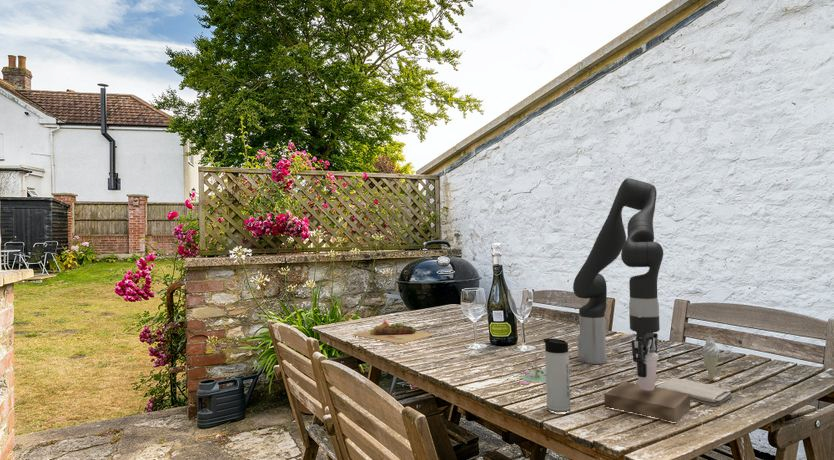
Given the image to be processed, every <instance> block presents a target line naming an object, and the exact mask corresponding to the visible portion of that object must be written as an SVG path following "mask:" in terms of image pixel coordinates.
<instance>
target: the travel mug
mask: <svg viewBox="0 0 834 460" xmlns="http://www.w3.org/2000/svg"><path fill="white" fill-rule="evenodd" d="M543 342H544V343H545V344H544V346H545V348H544V352H545V355H544V356H545V357H544V358H545V359H544V360H545V370H546V409H549V410H551V411H554V412H567V411H570V410H571V388H570V387H571V386H570V356H569V351H570V350H569V343H568V342H567V341H566V340H563V339H560V338H559V339H558V338H543ZM570 412H571V411H570Z"/></svg>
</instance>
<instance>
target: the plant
mask: <svg viewBox="0 0 834 460" xmlns="http://www.w3.org/2000/svg"><path fill="white" fill-rule="evenodd" d="M534 357H535V358H534V359H532V360H533V365H532V364H531V363H530V362H528V364H526V366H527V367H531V369H532V370H529V369H525V370H524V371H522V372H523V374H525V375H524V377H523V379H522V380H529V381H534V382H541V383H542V382H543V383H546V369H543V368H542V367H538V366H539V365H540V363H538V362H537V361H540V359H539V356H537V354H536V353H535V354H534ZM538 368H539V369H538ZM520 384H522V385H529V382H527V381H523V382H520Z"/></svg>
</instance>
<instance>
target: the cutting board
mask: <svg viewBox="0 0 834 460" xmlns="http://www.w3.org/2000/svg"><path fill="white" fill-rule="evenodd" d="M353 335H354V336H358V337H364V338H369V339H375V340H380V341H386V342H392V343H397V344H405V343H408V342H411V341H415V340H418V339H421V338H425V337H428V336H432V337H433V334H432V333H429V332H421V331H418V329H417V328H414V327H413V326H412V325H409V326H407V325H404V324H401V323H400V322H399V323H398V322H396V324H394V323H391V325H390V323H388V322H387V321H386V320H384V321H383V322H382V324H380V325H376V326H374V328H373V329H370V330H366V331H360V332H357V333H353V334H352V336H353ZM408 344H409V343H408ZM405 345H406V344H405Z"/></svg>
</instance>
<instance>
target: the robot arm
mask: <svg viewBox="0 0 834 460" xmlns="http://www.w3.org/2000/svg"><path fill="white" fill-rule="evenodd" d="M657 194H658V193H657V189H656V187H655V185H653V184H652V183H649V182H646V181H642V180H638V179H635V178H631V177H627V178H625V179H624V180H623V181H622V182H621V184H620V186H619V188H618V189H617V193H616V195H615V197H614V200H613V203H612V205H611V208H610V210H609V213H608V215H607V217H606V219H605V221H604V224H603V225H602V226H601V229H600V231H599V233H598V234H597V237H596V239H595V241H594V243H593V246H592V248H591V250H590V252H589V254H588V256H587V258H586V260H585V261H584V263H583V264H582V266H581V268H580V269H579V271H578V273H577V275H576V276H575V278H574V280H573V283H572V284H573V285H572V289H573V293H574V295H575V296H576V297H577V298H580V299H589V300H588V302H587V303H586V304H584V305H583V306H581V307H579V310H578V316H579V317H578V318H579V319H578V320H579V323H578V324H579V335H578V336H577V350H578V351H577V353H578V355H577V356H578V361H580V362H583V363H586V364H589V365H590V364H591V365H592V364H593V365H600V364H601V365H602V364H606V363H607V339H606V335H607V334H606V313H605V312H606V309H607V292H608V291H607V290H608V289H607V287H608V286H607V281H606V279H605V277H604V275H602V274H601V273H600V272H601V271H603V270H604V269H605V268H606V267H608V266H609V265H611V264H612V263H613V262H614V261H616V259H617V258H619V255H620V256H621V257H620V258H621V261H622V263H623V264H624V265H625V266H627V267H629V268H649V269H648V271H647V272H646V273H642V274H638V275H633V276H631V277H630V278H629V282H628V284H629V285H628V286H629V301H628V302H629V303H628V307H629V310H628V312H629V313H628V314H629V329H630V331H632V332H635V333H636V336H635V339H634V340H633V339H632V340H631V342H630V343H631V351H632V362H634V363H635V364H636V363H637V368H636V374H637V377H638V376H639V377H644V378H645V377H646V376H647V369H646V359H647V357H646V356H648V355H649V352H651V353H653V352H655V353H657V354H658V333H657V332H660V328H661V327H660V305H659V299H658V277H659V274H660V268H661V265H662V261H663V258H664V249H663V246H662V245H661V244H660V243H659V242H657V241H654V240H655V232H654V231H655V230H654V215H655V210H656V203H657V202H656V201H657ZM624 207H626V208H629V209H633V210H637V211H638V212H636V213H635V214H633V215H632V216H631V217H630V219H629V221H628V222H627V227H626V228H627V229H626V230H625V226H624V222H623V216H622V215H623V213H622V212H623V209H624ZM626 231H627V235H626ZM643 351H644V352H643ZM639 355H640V358H639Z"/></svg>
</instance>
